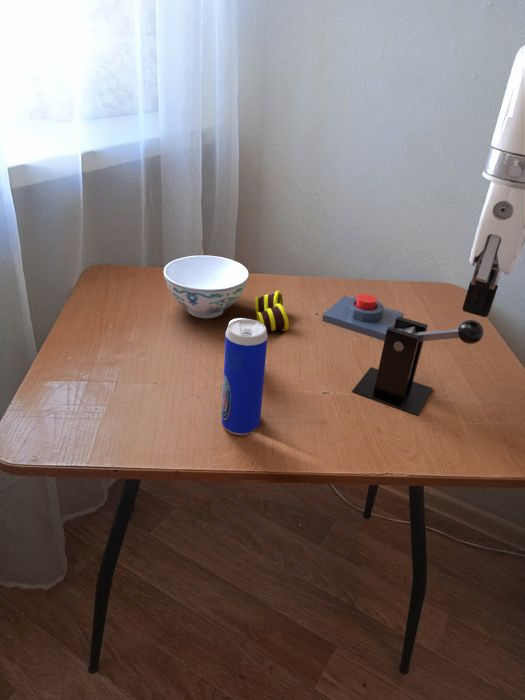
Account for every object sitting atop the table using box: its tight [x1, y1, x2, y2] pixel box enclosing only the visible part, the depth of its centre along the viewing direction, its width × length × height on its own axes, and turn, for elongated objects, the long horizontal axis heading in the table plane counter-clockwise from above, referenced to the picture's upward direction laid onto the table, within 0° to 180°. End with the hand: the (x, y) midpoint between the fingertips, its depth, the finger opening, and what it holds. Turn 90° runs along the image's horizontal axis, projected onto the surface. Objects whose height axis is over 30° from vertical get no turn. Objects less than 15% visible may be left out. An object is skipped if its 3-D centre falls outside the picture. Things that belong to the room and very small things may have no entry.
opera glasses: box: [254, 290, 290, 332], centre depth 100 cm, size 10×5×5 cm, turn 5°
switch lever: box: [397, 319, 485, 345], centre depth 77 cm, size 12×3×3 cm, turn 60°
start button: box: [356, 293, 378, 310], centre depth 101 cm, size 4×4×2 cm
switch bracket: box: [351, 316, 434, 417], centre depth 81 cm, size 10×8×12 cm
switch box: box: [322, 295, 405, 341], centre depth 102 cm, size 12×10×4 cm
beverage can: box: [221, 318, 269, 436], centre depth 72 cm, size 5×5×15 cm
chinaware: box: [163, 255, 249, 319], centre depth 102 cm, size 15×15×8 cm
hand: (475, 311), depth 73 cm, fingers closed
